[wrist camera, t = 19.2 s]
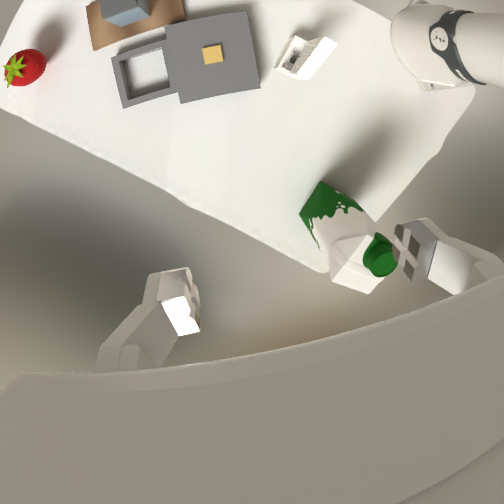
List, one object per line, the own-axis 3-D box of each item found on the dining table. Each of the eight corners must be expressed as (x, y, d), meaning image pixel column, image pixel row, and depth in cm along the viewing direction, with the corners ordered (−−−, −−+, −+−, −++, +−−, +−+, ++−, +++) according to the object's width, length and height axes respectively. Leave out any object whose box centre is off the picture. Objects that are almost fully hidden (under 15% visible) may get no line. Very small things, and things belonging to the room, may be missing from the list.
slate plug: (145, -7, 24) (131, -22, 18) (150, 16, 27) (136, 5, 20) (116, 3, 24) (97, -9, 18) (121, 27, 27) (101, 18, 20)
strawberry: (55, 83, 30) (21, 90, 22) (22, 82, 28) (-14, 91, 20) (64, 49, 27) (30, 47, 19) (29, 49, 25) (-6, 51, 17)
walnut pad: (177, -24, 24) (176, -26, 23) (185, 20, 29) (185, 19, 28) (88, 7, 24) (85, 6, 23) (95, 50, 29) (93, 50, 28)
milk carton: (355, 195, 49) (415, 261, 33) (329, 234, 53) (374, 309, 37) (318, 174, 46) (374, 238, 30) (291, 217, 50) (329, 295, 34)
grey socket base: (244, 14, 30) (247, 9, 27) (257, 87, 37) (261, 88, 34) (113, 48, 29) (105, 46, 26) (129, 118, 36) (123, 121, 33)
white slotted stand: (328, 25, 29) (337, 43, 25) (294, 71, 38) (295, 97, 34) (306, 13, 28) (311, 28, 24) (273, 61, 36) (271, 85, 32)
